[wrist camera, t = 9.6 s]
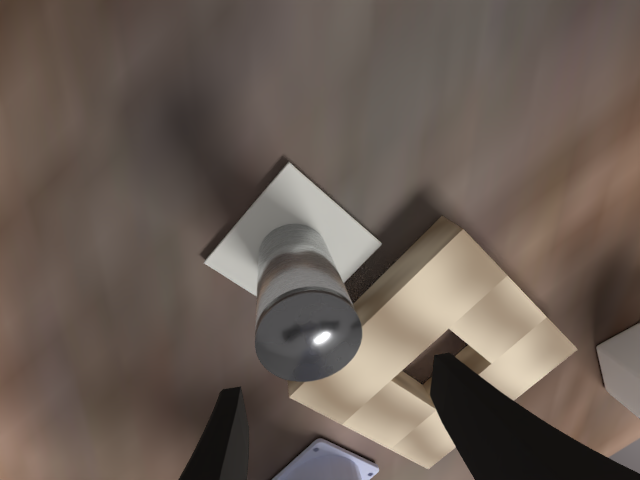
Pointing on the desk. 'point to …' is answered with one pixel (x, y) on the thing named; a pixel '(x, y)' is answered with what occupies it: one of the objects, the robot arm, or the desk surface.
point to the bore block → (422, 330)
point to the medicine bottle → (622, 367)
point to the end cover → (302, 307)
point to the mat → (291, 208)
